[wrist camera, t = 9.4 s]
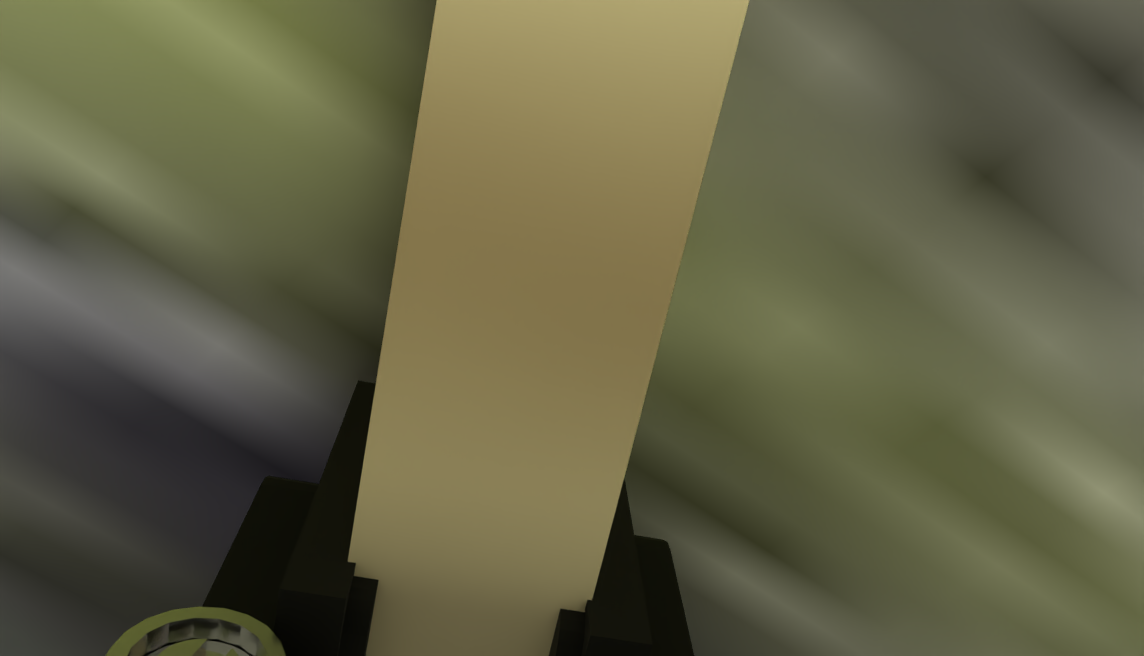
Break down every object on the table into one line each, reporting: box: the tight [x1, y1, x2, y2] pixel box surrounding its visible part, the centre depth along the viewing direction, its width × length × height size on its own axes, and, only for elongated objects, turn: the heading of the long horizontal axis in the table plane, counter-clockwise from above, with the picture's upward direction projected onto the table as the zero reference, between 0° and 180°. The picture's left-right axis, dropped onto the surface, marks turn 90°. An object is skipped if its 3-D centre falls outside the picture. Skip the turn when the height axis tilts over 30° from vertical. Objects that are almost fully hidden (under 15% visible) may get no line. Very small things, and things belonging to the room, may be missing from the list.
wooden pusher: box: [348, 0, 749, 656], centre depth 9 cm, size 31×9×4 cm, turn 168°
